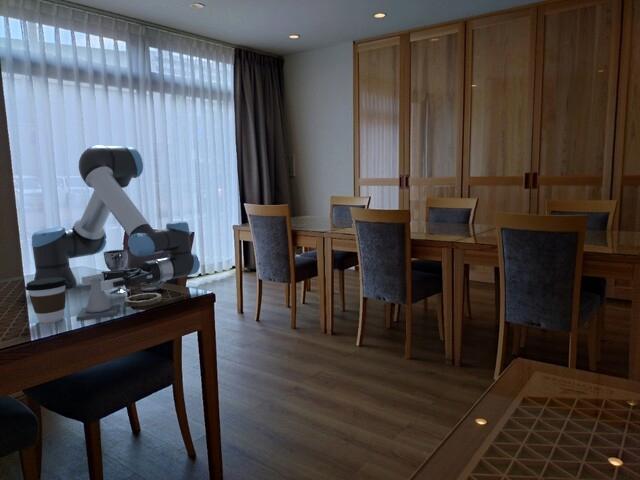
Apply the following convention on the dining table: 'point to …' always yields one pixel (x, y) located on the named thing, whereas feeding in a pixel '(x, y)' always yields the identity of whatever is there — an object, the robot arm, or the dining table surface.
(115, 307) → the rubber mat
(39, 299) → the coffee cup
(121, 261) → the wine glass
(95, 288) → the flask
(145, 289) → the pocket watch
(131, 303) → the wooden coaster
